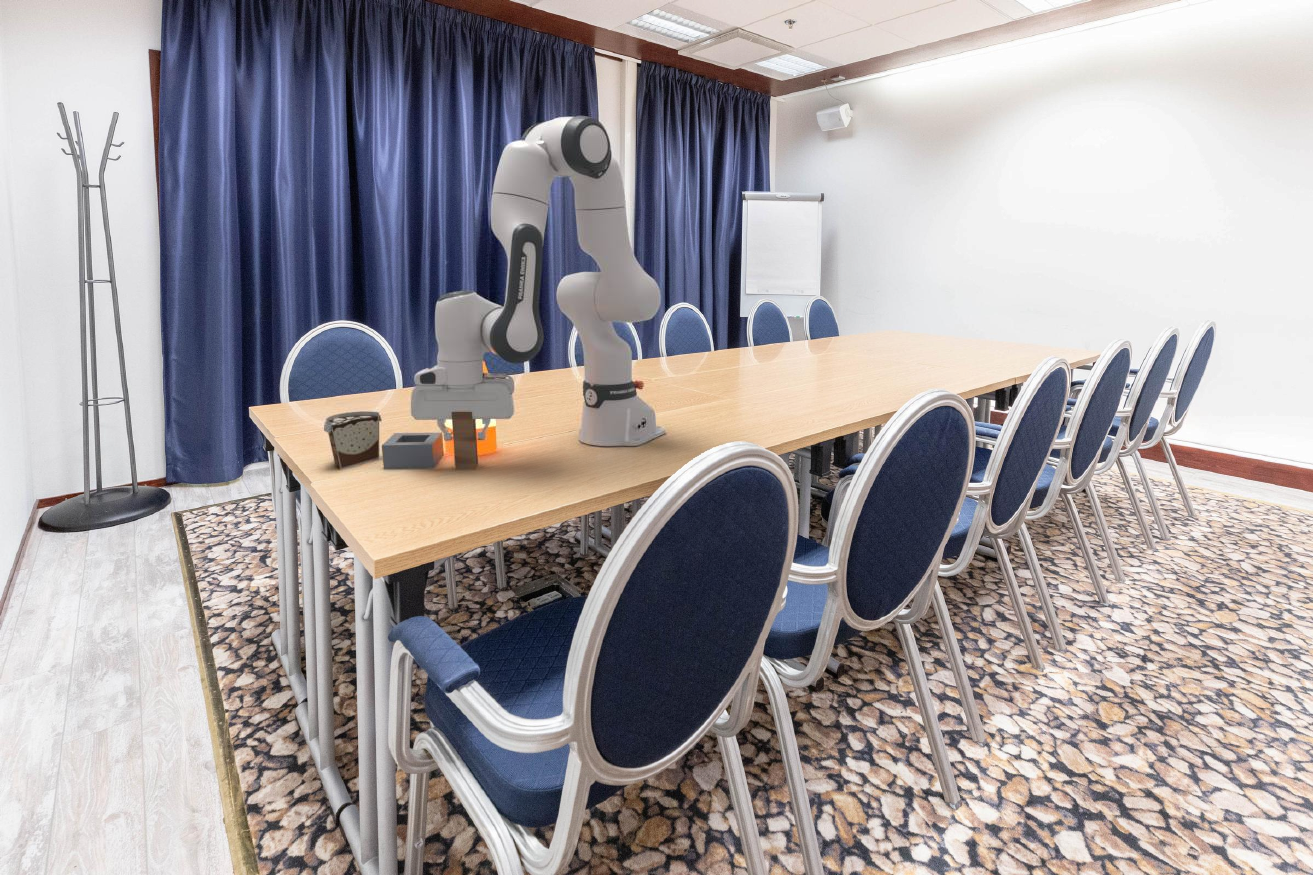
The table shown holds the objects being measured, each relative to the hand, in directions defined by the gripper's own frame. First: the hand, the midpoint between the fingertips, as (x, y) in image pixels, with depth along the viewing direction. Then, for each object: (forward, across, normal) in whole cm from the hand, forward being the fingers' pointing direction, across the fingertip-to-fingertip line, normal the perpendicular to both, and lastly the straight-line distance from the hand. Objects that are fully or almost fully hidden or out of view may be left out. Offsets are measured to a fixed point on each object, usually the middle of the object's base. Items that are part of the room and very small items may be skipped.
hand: (465, 439), depth 142 cm
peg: (+6, 0, 0) cm, 6 cm away
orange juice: (+6, +1, -11) cm, 13 cm away
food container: (+6, +25, -5) cm, 26 cm away
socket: (+6, +12, -4) cm, 13 cm away
